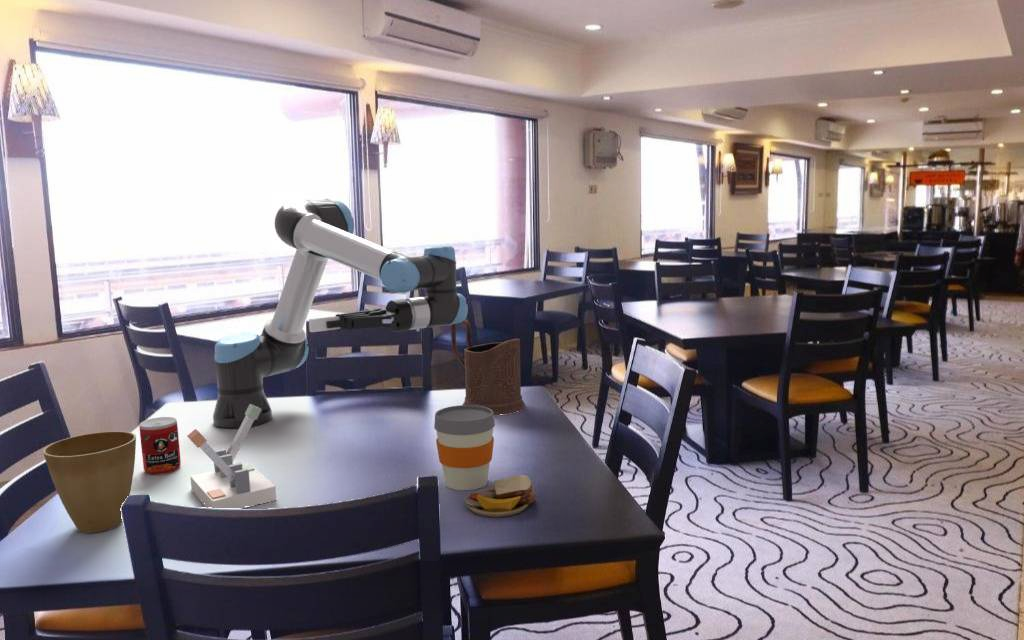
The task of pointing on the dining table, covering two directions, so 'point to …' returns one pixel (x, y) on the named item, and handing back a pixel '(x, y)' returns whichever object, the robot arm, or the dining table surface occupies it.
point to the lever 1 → (211, 454)
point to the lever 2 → (243, 429)
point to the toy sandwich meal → (503, 497)
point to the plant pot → (93, 476)
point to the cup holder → (491, 373)
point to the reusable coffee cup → (465, 445)
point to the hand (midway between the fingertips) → (310, 325)
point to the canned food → (160, 445)
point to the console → (232, 486)
